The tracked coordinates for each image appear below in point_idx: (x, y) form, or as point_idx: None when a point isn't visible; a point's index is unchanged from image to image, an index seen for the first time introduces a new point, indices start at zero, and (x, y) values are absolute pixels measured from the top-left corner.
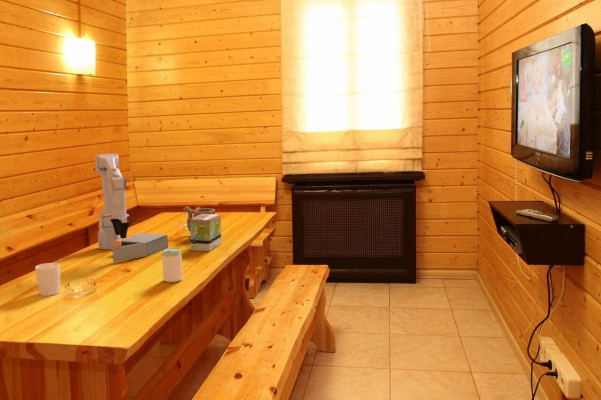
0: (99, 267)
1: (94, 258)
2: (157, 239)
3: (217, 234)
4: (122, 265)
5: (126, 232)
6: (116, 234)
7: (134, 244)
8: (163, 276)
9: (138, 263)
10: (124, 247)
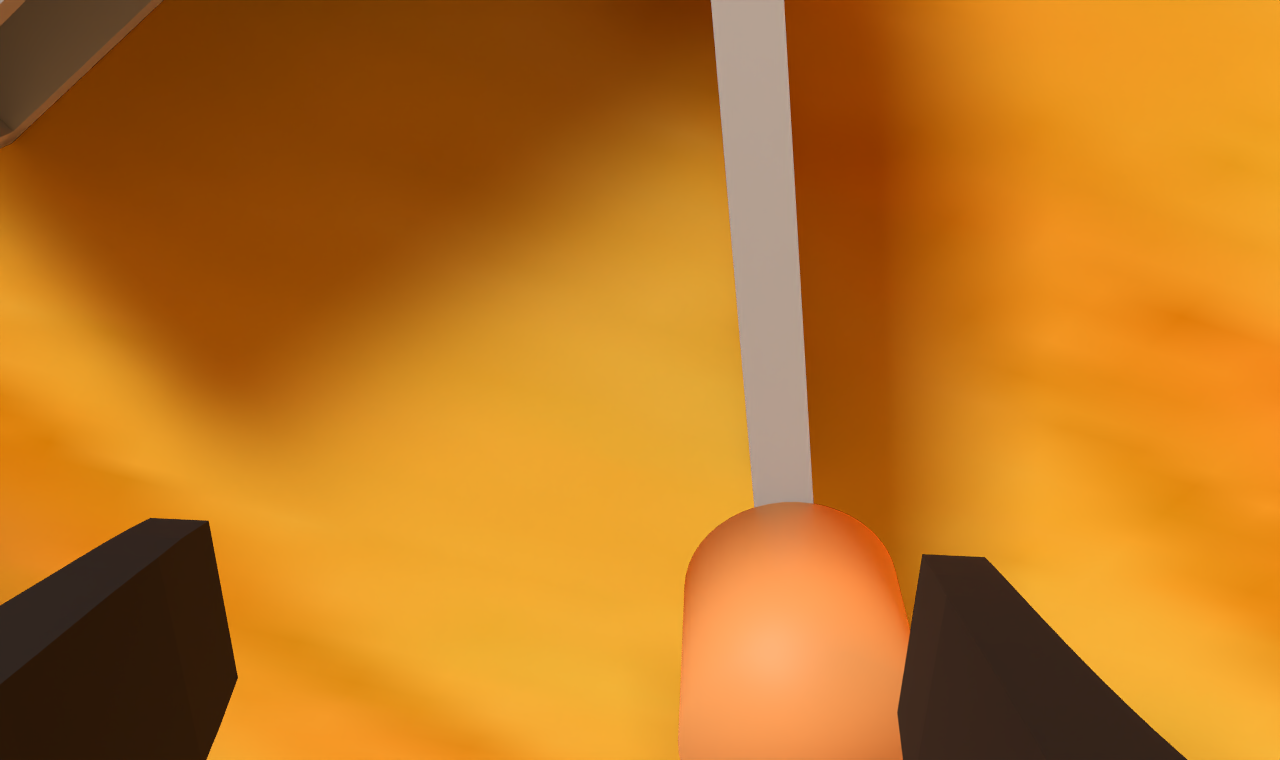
0: None
1: None
2: None
3: None
4: (1103, 405)
5: (1122, 720)
6: (222, 688)
7: (771, 48)
8: None
9: (1232, 63)
10: (805, 392)
